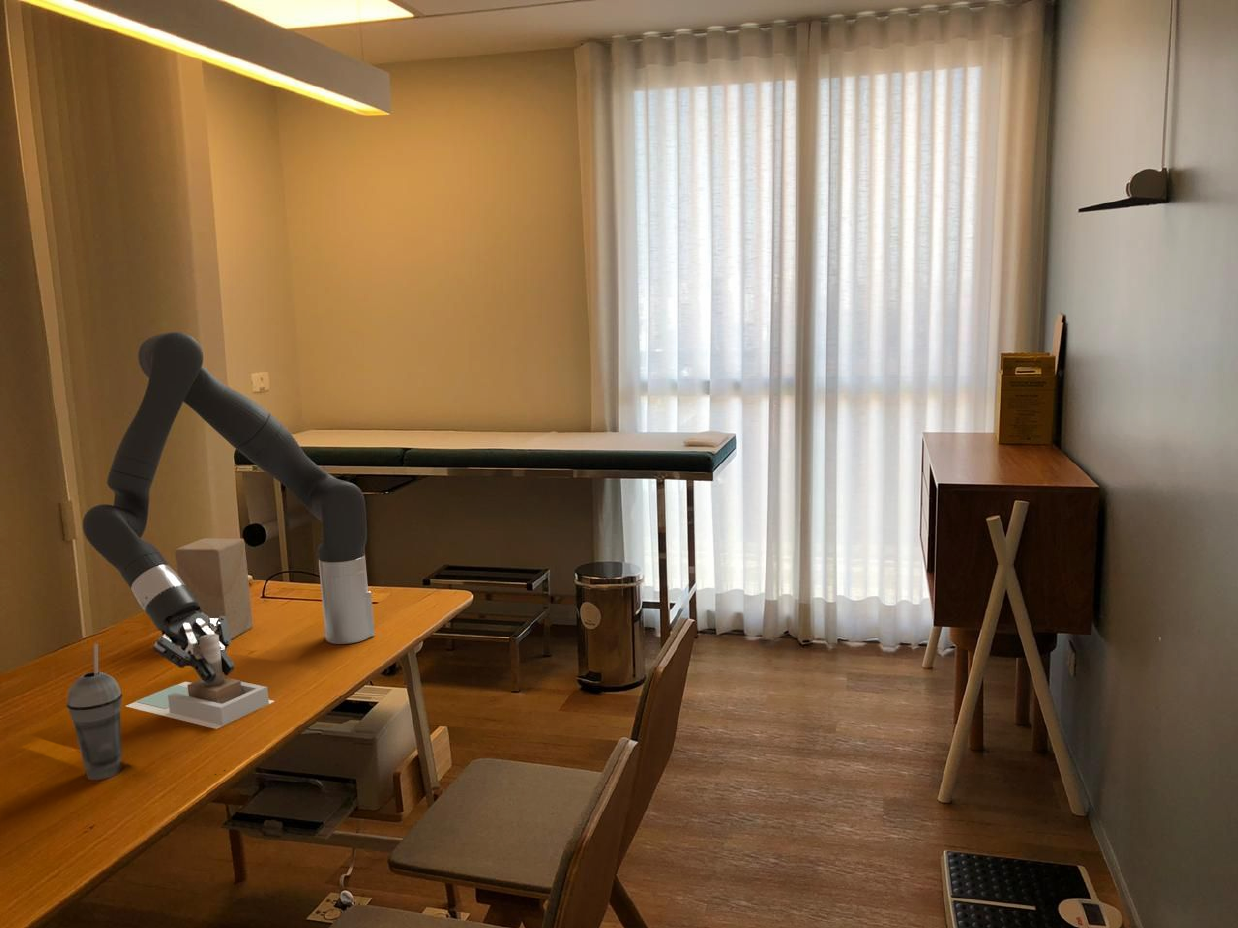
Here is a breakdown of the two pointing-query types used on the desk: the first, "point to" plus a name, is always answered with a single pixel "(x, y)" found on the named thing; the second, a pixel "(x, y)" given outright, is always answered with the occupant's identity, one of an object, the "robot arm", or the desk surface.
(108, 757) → the beverage cup
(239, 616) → the wooden block
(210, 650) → the peg with base
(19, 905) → the desk surface
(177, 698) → the docking tray
